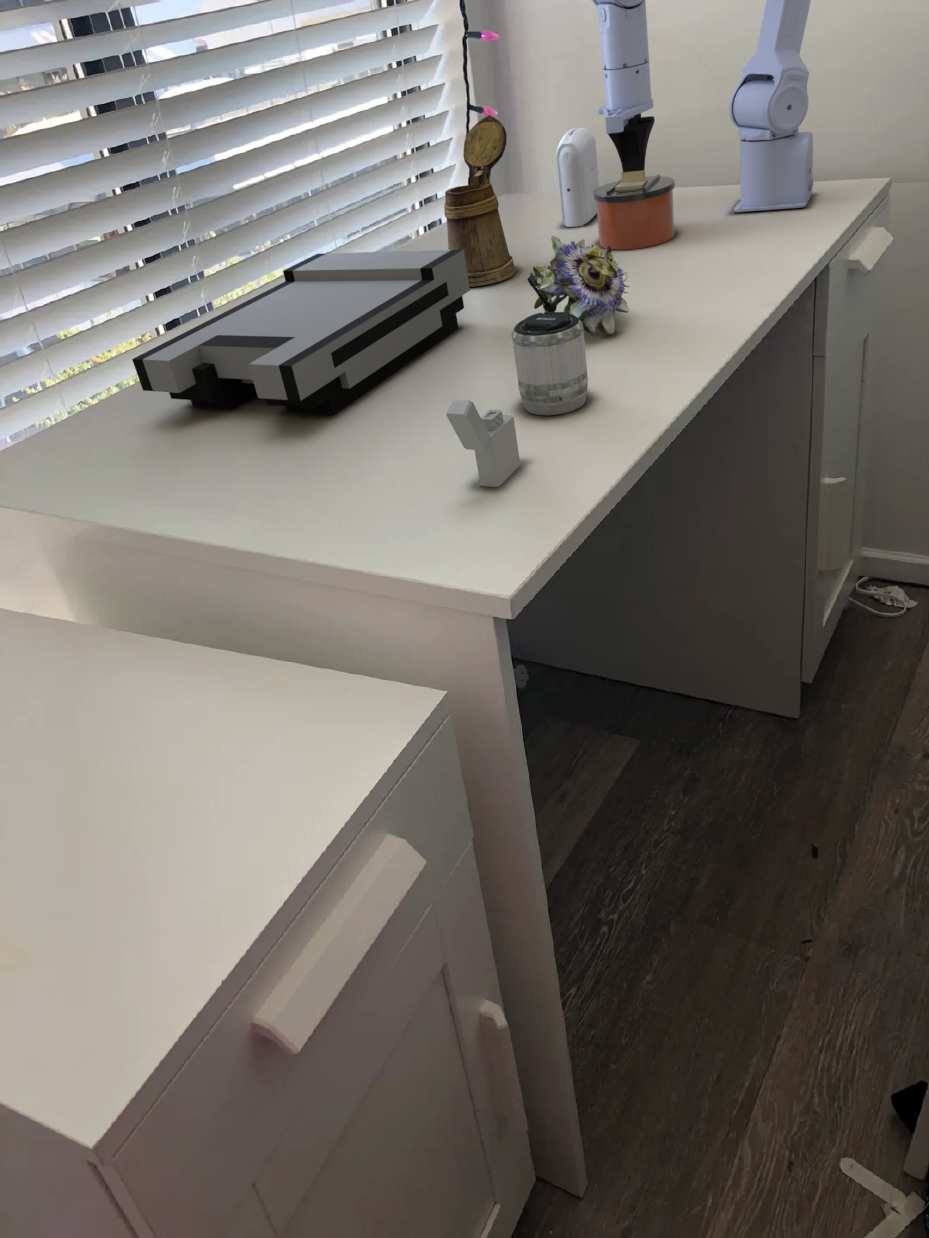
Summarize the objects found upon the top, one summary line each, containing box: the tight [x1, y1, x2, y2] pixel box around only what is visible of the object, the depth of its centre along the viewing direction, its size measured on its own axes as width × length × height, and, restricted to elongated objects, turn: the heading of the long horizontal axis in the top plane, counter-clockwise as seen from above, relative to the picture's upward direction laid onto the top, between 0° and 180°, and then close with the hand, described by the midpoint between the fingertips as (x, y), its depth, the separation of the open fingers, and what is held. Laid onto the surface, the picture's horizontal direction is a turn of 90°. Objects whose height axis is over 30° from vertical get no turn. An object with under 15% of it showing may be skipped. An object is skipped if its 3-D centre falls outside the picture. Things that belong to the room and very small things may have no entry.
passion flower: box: [526, 235, 630, 336], centre depth 106 cm, size 11×11×12 cm
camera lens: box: [511, 311, 589, 417], centre depth 89 cm, size 6×6×8 cm
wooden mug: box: [443, 114, 516, 288], centre depth 129 cm, size 9×14×18 cm, turn 154°
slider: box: [615, 170, 648, 191], centre depth 131 cm, size 4×3×2 cm
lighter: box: [445, 399, 521, 488], centre depth 78 cm, size 7×2×8 cm, turn 151°
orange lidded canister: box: [593, 174, 676, 251], centre depth 134 cm, size 11×11×7 cm
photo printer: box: [555, 126, 600, 228], centre depth 148 cm, size 10×4×12 cm, turn 160°
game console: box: [131, 249, 471, 417], centre depth 108 cm, size 21×32×8 cm, turn 150°
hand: (634, 180), depth 132 cm, fingers closed, pressing on slider
